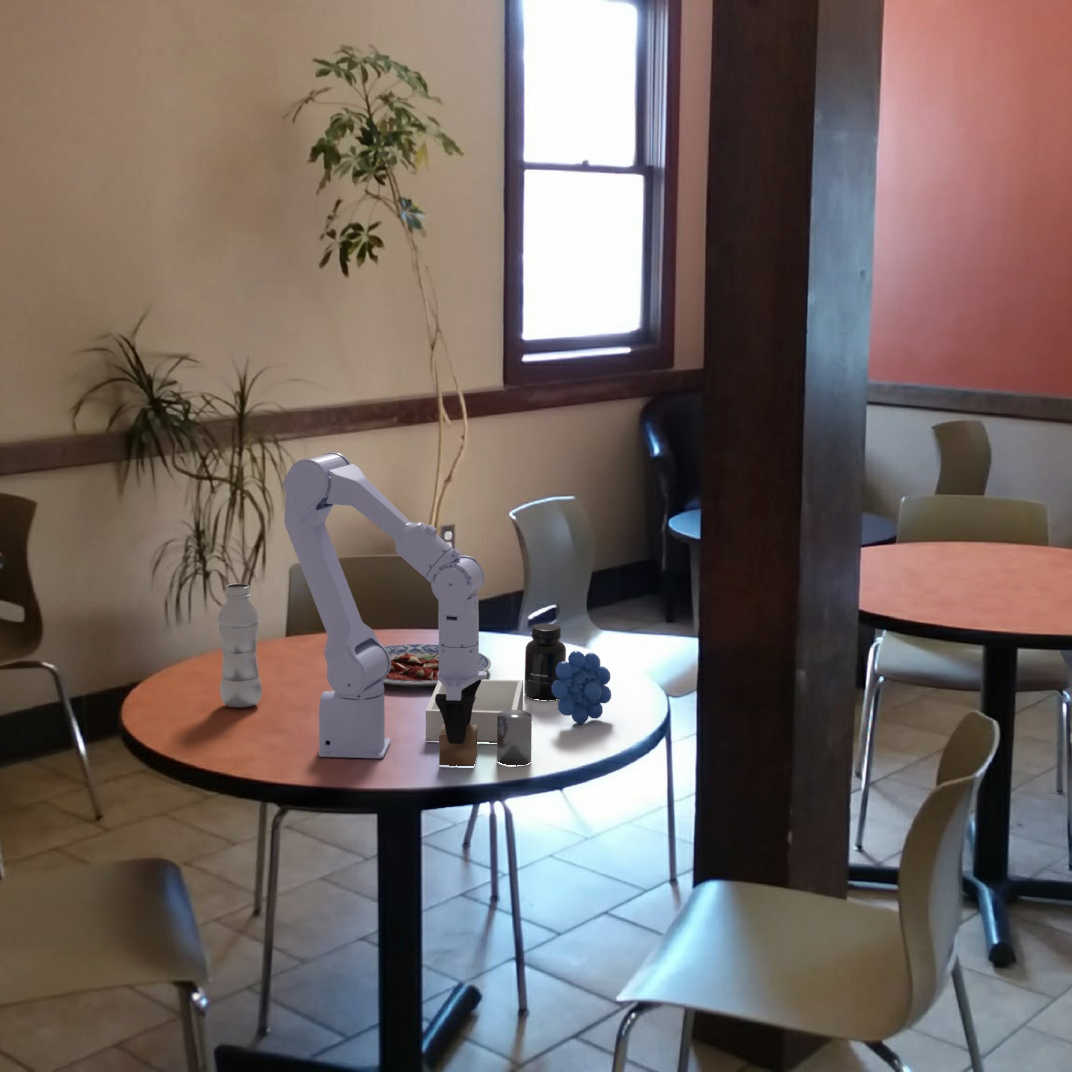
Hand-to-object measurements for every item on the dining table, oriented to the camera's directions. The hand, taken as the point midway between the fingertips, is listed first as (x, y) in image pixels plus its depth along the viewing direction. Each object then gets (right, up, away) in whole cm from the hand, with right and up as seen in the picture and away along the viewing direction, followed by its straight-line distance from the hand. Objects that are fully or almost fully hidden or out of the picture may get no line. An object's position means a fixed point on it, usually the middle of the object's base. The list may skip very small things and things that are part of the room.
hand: (459, 734), depth 204 cm
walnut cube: (0, -4, +1) cm, 4 cm away
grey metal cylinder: (+8, -4, +1) cm, 9 cm away
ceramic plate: (-10, +4, +47) cm, 48 cm away
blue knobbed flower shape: (+19, -1, +19) cm, 26 cm away
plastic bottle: (-37, +1, +26) cm, 45 cm away
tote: (+2, -1, +17) cm, 18 cm away
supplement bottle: (+13, +2, +34) cm, 36 cm away
